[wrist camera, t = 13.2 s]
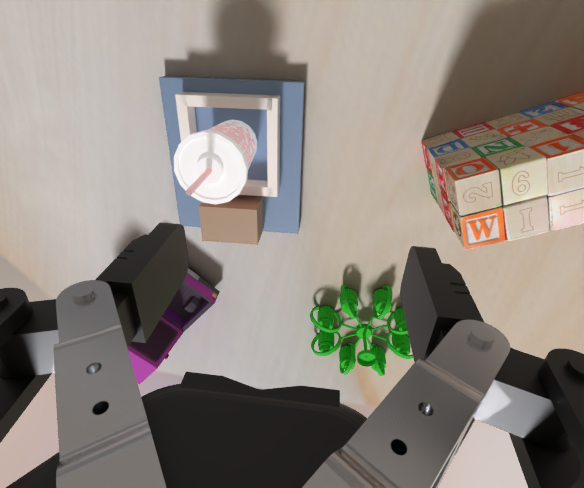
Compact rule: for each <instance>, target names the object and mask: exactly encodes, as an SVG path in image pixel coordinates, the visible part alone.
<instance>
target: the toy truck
mask: <svg viewBox="0 0 584 488" xmlns="http://www.w3.org/2000/svg"><path fill="white" fill-rule="evenodd" d="M219 292H220V291H218V290H217V289H216V288H214V287H213V286H212V285H210V284H209V283H208V282H206V281H205V280H203V279H202V278H201V277H199V276H198V275H197V274H195V273H194V272H193V271H191V270H190V269H189V268H188V272H187V275H186V277H185V279H184V281H183V283H182V284H181V286H180V287H179V289H178V291H177V292H176V294H175V296H174V297H173V299H172V301H171V302H170V304H169V306H168V307H167V309H166V311H165V312H164V314H163V316H162V317H161V319H160V320H159V322H158V324H157V325H156V327H155V329H154V330H153V332H152V334H151V335H150V337H149V339H148V340H147V342H146V343H141V342H131V343H130V345H129V346H128V352H129V355H130V359H131V363H132V366H133V370H134V373H135V377H136V380H137V383H138V384H140V383H141V382H143V381H144V380H145V379H146V378H147V377H148V376H149V375H150V374H151V373H153V372H154V371H155V370H156V369H157V368H158V366H159V365H160V364H161V362H162V361H163V360H164V358H165V359H167V358H168V356H169V354H168V353H169V351H170V350H171V349H172V347H173V346H174V344H175V343H176V342H177V340H178V339H179V338H180V336H181V335H182V334H183V332H184V331H185V330H186V329H187V328H188V327H189V326H191V325H192V324H193V323H194V322H195V321H196V320H197V319H198V318H199V317H200V316H201V315H202V314H203V313H204V312H206V311H207V310H208V309H209V308H210V307H211V306H212V305H213V304H214V303H215V301H216V299H217V296H218V294H219Z"/></svg>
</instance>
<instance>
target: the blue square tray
mask: <svg viewBox="0 0 584 488" xmlns="http://www.w3.org/2000/svg"><path fill="white" fill-rule="evenodd" d="M159 81H160V88H161V95H162V102H163V109H164V116H165V123H166V130H167V137H168V143H169V150H170V157H171V164H172V171H173V178H174V185H175V192H176V199H177V206H178V213H179V220H180V224H181V225H183V226H192V227H201V232H202V241H215V242H229V243H243V244H258V242H259V240H260V237H261V234H262V231H267V232H282V233H297V234H298V232H299V223H300V196H301V169H302V143H303V116H304V89H305V81H287V80H259V79H231V78H203V77H175V76H164V77H159ZM228 120H238V121H242V122H244V123H245V124H247V125H249V126H250V128H251V129H252V130H253V132H254V133H255V136H256V139H257V151H256V153H255V155H254V157H253V160H252V162H251V164H250V167H249V169H248V175H247V181H246V183H245V185H244V187H243V188H242V190H241V192H240V194H239V195H238V196H236V197H235V198H233V199H232V200H231V201H229V202H226V203H221V204H216V205H215V204H209V203H203V202H201V201H199V200H197V199H195V198H194V197H192V196H188V195H187V194H186V191H185V190H184V189H183V187H182V186H181V185H180V184H179V181H178V179H177V177H176V174H175V172H174V155H175V152H176V150H177V148H178V145H179V144H180V143H181V142H182V141H183V140H184V139H186V138H187V137H188V136H189V135H190V134H193V133H196V132H200V131H204V130H208V129H210V128H212V127H214V126H216V125H218V124H220V123H222V122H225V121H228Z"/></svg>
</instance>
